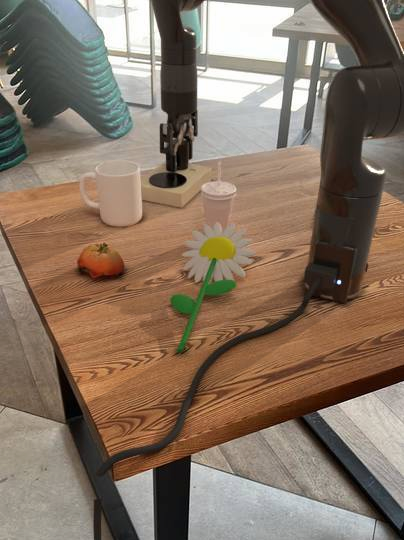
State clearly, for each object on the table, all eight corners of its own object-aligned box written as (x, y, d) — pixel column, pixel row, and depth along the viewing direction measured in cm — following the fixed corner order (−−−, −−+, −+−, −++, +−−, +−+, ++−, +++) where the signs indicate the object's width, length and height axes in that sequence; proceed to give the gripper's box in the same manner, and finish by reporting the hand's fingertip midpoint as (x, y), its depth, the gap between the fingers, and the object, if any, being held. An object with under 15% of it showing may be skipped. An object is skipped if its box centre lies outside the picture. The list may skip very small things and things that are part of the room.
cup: (137, 228, 110) (134, 177, 103) (77, 224, 111) (70, 173, 104) (146, 210, 116) (143, 161, 110) (88, 206, 117) (82, 157, 111)
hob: (181, 207, 118) (181, 193, 116) (134, 198, 121) (133, 183, 119) (213, 178, 130) (213, 165, 128) (169, 171, 133) (169, 157, 131)
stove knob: (191, 165, 128) (191, 138, 124) (184, 171, 125) (184, 144, 121) (174, 162, 129) (174, 136, 125) (167, 168, 126) (167, 142, 122)
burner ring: (176, 190, 117) (176, 189, 117) (142, 184, 119) (142, 182, 119) (192, 177, 123) (192, 175, 122) (159, 171, 125) (159, 169, 125)
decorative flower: (225, 371, 81) (261, 248, 101) (223, 346, 77) (261, 224, 97) (140, 359, 84) (191, 242, 103) (134, 335, 80) (189, 219, 100)
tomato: (127, 276, 93) (94, 243, 90) (97, 302, 95) (65, 271, 93) (132, 259, 100) (102, 228, 97) (104, 283, 102) (74, 254, 99)
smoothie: (234, 230, 110) (239, 158, 101) (232, 246, 105) (237, 171, 96) (201, 228, 110) (203, 156, 102) (198, 244, 105) (199, 169, 97)
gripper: (180, 96, 110) (181, 179, 120) (209, 80, 120) (207, 157, 131) (146, 92, 112) (149, 173, 123) (177, 76, 123) (178, 152, 133)
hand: (179, 164), depth 127 cm, fingers open, 8 cm apart
